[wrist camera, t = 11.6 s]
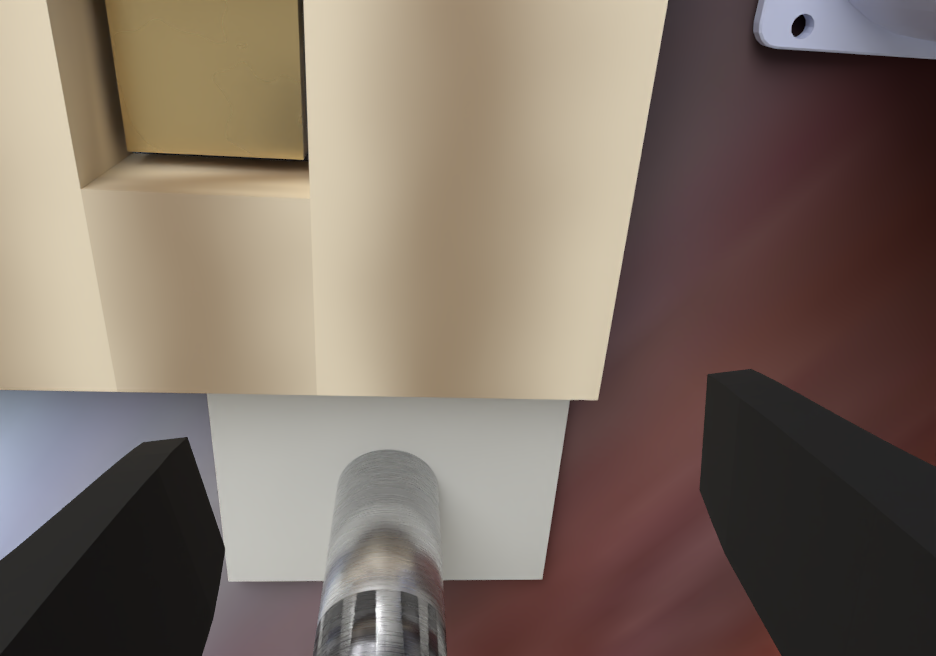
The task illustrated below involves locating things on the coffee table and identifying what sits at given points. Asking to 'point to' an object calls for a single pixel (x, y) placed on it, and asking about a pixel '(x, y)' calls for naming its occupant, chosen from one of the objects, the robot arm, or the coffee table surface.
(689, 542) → the coffee table surface
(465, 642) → the coffee table surface
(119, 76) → the tan flat square block
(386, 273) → the socket block
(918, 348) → the coffee table surface
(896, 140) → the coffee table surface
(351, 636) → the metal cylinder
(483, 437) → the mat
